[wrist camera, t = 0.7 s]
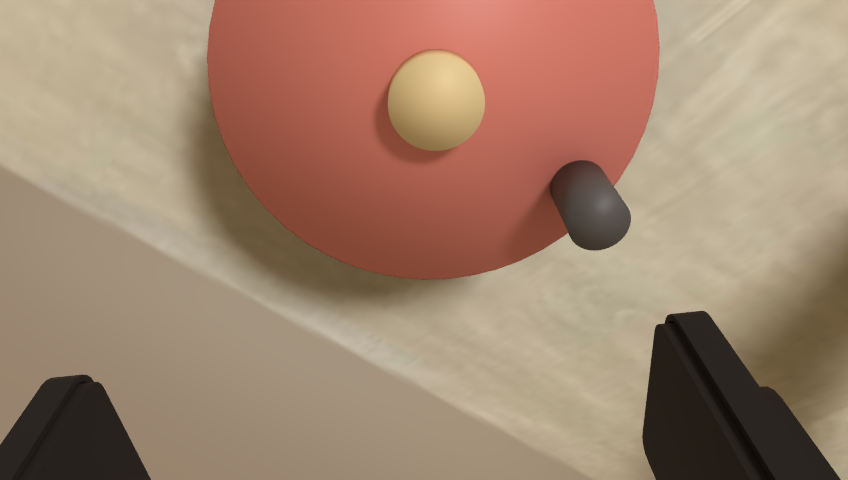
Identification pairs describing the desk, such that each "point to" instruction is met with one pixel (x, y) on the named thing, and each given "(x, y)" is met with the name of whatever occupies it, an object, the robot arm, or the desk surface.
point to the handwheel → (435, 123)
